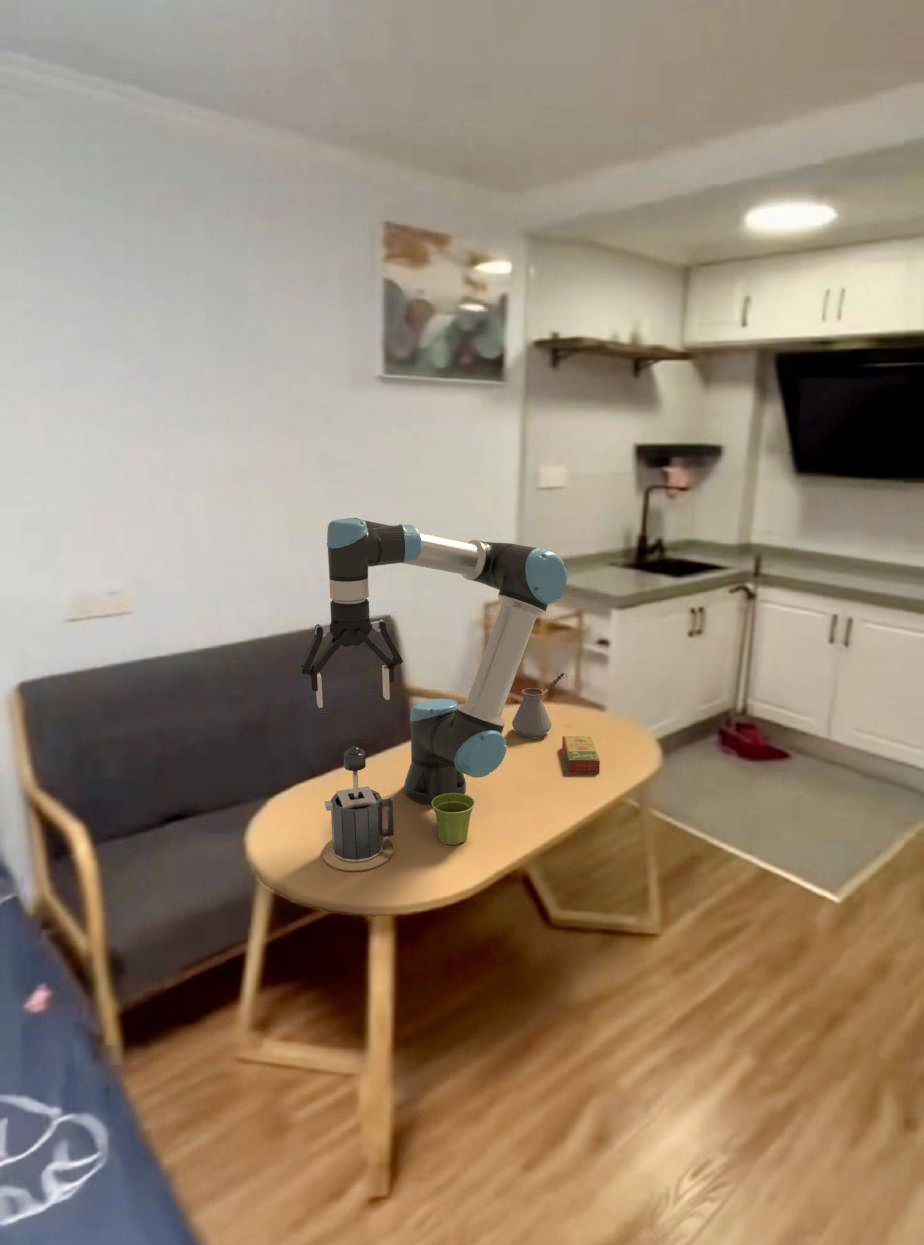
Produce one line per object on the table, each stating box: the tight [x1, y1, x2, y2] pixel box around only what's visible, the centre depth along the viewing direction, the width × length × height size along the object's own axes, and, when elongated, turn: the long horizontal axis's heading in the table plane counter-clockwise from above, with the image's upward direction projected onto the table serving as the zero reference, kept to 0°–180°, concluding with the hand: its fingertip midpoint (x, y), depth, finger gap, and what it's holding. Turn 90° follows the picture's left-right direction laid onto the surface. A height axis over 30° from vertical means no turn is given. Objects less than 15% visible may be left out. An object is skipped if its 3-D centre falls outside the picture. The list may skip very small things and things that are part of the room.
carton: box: [561, 735, 601, 774], centre depth 213 cm, size 8×16×4 cm, turn 179°
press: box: [321, 785, 395, 873], centre depth 167 cm, size 15×15×13 cm
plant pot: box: [430, 793, 475, 846], centre depth 173 cm, size 9×9×9 cm
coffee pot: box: [511, 672, 568, 739], centre depth 233 cm, size 21×12×15 cm, turn 136°
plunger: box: [343, 746, 366, 809], centre depth 165 cm, size 7×7×21 cm
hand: (353, 701), depth 160 cm, fingers open, 13 cm apart
